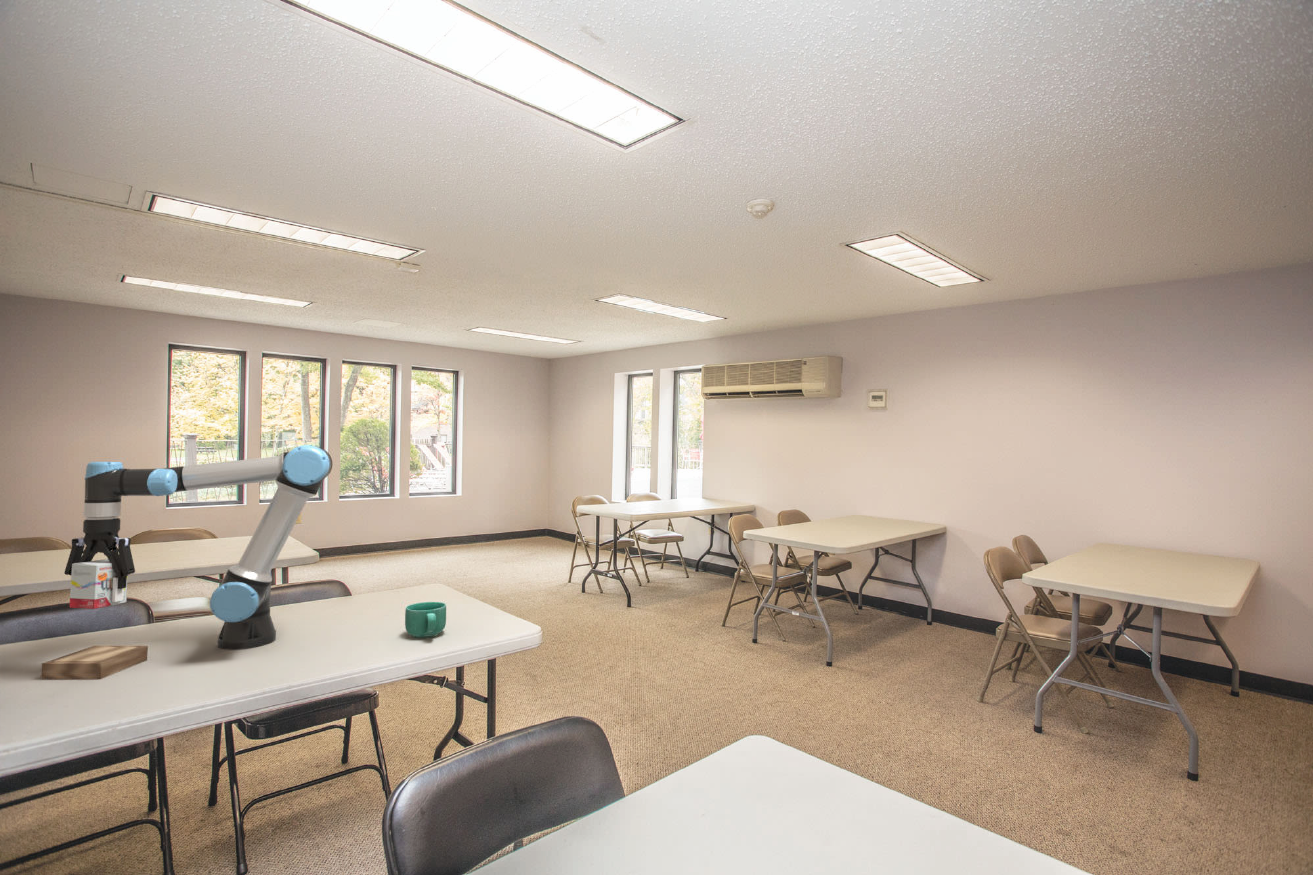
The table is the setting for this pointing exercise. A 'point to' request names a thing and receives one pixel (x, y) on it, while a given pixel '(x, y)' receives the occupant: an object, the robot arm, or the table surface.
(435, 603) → the mug
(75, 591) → the ink box
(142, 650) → the riser
